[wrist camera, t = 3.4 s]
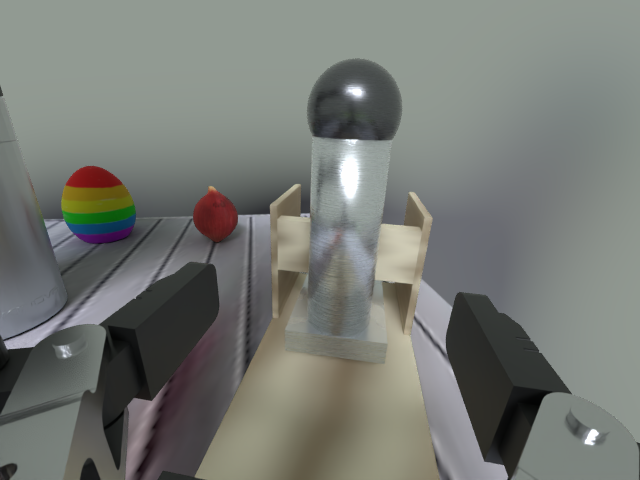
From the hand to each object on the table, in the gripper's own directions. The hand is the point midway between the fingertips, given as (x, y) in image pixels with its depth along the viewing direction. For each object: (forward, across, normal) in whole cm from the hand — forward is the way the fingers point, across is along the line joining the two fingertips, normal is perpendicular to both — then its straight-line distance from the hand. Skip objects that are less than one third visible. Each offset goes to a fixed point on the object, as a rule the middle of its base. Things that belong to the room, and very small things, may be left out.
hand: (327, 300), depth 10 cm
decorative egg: (+26, +35, +11) cm, 45 cm away
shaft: (+12, 0, +8) cm, 14 cm away
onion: (+28, +19, +11) cm, 36 cm away
